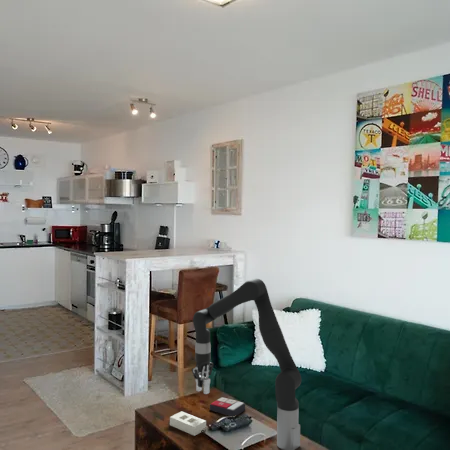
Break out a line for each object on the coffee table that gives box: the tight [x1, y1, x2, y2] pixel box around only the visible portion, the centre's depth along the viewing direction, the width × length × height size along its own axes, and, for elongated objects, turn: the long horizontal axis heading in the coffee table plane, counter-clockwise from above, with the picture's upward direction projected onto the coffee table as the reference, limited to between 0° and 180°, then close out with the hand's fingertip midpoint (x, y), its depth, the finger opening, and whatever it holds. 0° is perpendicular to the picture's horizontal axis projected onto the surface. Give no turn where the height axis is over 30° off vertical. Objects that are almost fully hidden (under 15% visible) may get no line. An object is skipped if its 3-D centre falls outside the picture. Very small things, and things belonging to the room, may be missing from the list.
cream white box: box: [169, 411, 207, 436], centre depth 217 cm, size 16×8×4 cm, turn 51°
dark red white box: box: [209, 396, 246, 417], centre depth 236 cm, size 11×4×15 cm
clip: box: [195, 376, 211, 395], centre depth 223 cm, size 7×3×7 cm, turn 50°
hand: (202, 385), depth 223 cm, fingers closed on clip, 3 cm apart
